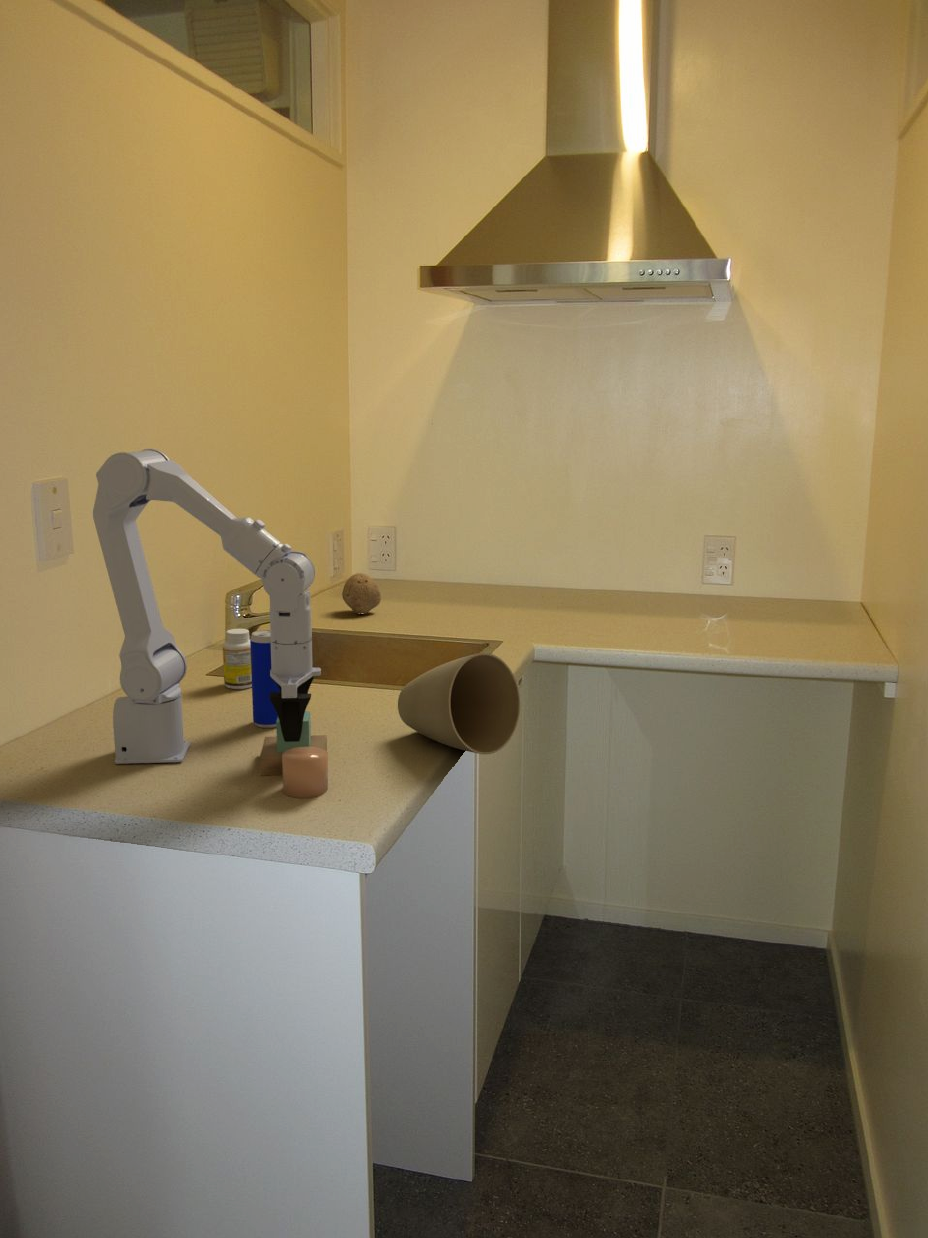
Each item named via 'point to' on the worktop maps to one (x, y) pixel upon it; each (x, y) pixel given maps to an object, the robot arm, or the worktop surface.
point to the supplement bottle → (237, 659)
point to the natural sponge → (361, 593)
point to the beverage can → (262, 680)
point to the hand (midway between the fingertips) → (293, 731)
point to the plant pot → (464, 703)
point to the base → (273, 759)
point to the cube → (304, 739)
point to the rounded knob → (305, 772)
